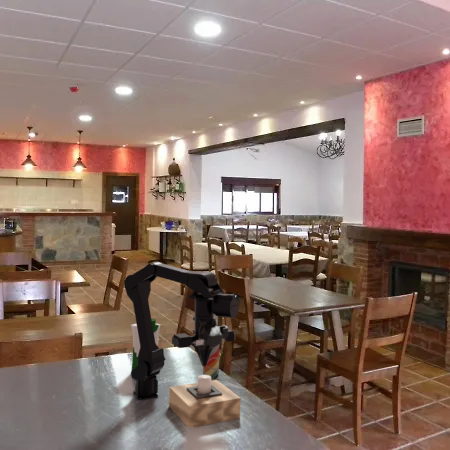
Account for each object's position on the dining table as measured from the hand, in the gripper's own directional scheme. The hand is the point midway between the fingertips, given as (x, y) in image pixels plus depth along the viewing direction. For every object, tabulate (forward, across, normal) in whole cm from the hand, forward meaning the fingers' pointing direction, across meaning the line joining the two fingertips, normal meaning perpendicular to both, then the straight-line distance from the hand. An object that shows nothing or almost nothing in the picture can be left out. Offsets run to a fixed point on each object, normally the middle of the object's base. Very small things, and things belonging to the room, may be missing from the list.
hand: (203, 366), depth 146 cm
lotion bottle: (+13, +14, +23) cm, 30 cm away
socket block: (+14, -1, -1) cm, 14 cm away
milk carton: (+13, -6, +38) cm, 40 cm away
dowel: (+8, -1, -1) cm, 9 cm away
